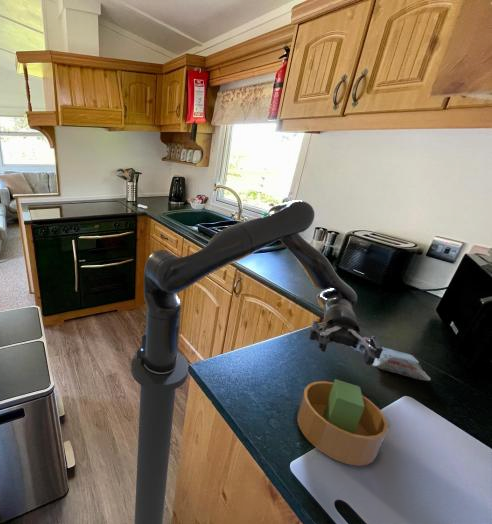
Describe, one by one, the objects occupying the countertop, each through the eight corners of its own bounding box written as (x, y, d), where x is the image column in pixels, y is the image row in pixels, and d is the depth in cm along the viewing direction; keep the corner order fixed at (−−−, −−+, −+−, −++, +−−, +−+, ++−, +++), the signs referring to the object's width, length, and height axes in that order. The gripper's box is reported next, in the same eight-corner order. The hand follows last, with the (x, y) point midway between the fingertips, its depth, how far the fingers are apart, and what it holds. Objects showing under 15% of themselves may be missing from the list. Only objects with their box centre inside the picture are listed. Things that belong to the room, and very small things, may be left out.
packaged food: (426, 387, 74) (433, 372, 73) (370, 371, 79) (375, 356, 78) (415, 368, 82) (422, 353, 80) (364, 354, 87) (369, 340, 85)
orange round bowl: (295, 442, 58) (303, 416, 56) (298, 396, 70) (304, 372, 68) (383, 480, 52) (396, 452, 50) (369, 422, 64) (380, 397, 61)
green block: (323, 435, 59) (337, 397, 56) (322, 414, 64) (334, 378, 61) (349, 445, 57) (364, 407, 54) (346, 423, 62) (360, 386, 59)
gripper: (313, 302, 80) (314, 330, 66) (377, 317, 73) (391, 351, 60) (307, 326, 82) (306, 357, 69) (368, 342, 76) (380, 380, 63)
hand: (346, 354), depth 64 cm, fingers open, 8 cm apart
